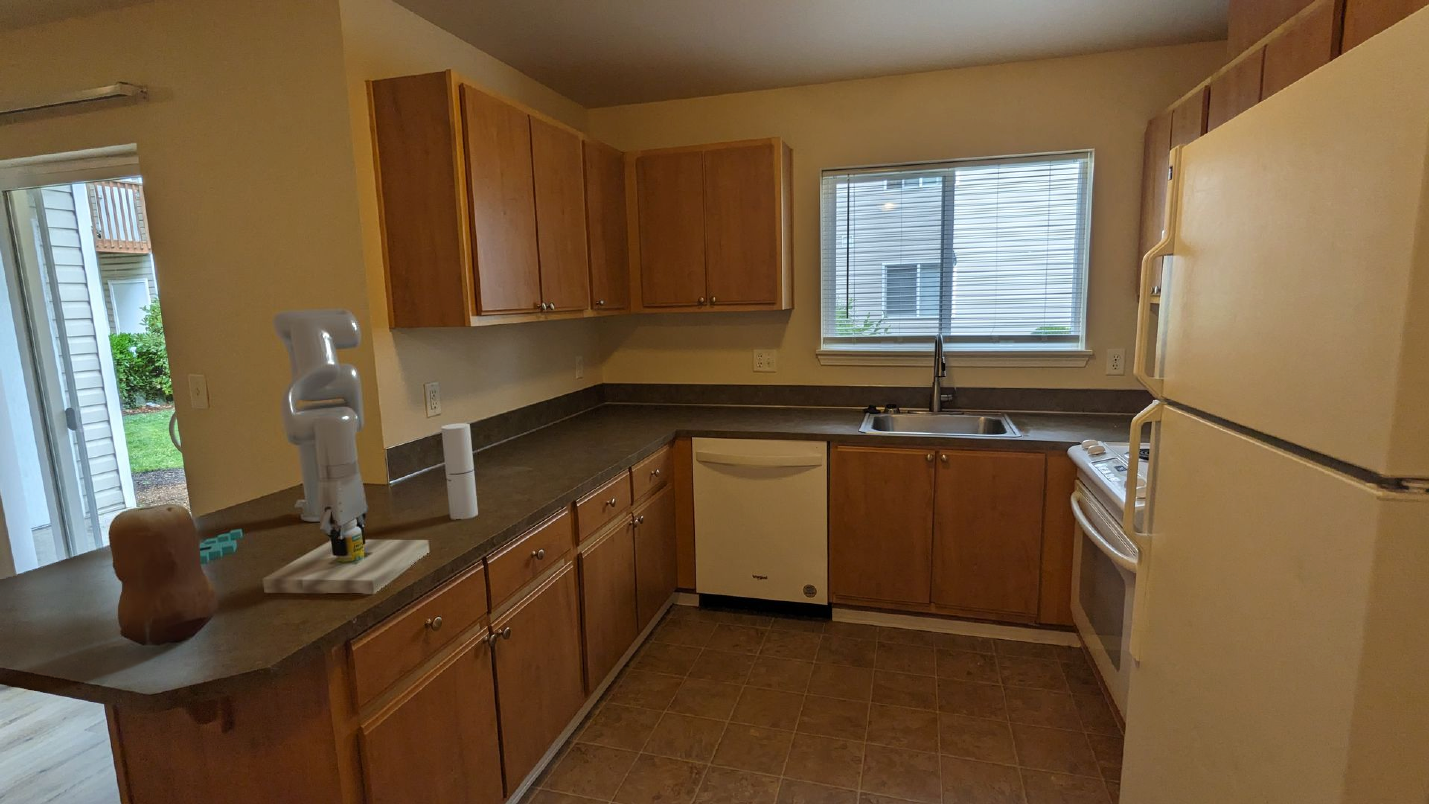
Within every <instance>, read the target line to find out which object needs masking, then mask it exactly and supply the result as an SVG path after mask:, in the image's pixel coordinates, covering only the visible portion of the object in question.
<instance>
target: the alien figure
mask: <svg viewBox="0 0 1429 804" xmlns="http://www.w3.org/2000/svg"><path fill="white" fill-rule="evenodd" d="M243 536H244V535H243V530H242V528H239V529H233V530H230V532H229V533H222V534H218V535H217V537H213V538H207V539H205V541H203V542H199V543H200V555H201V556H200V562H201V565H203V564H208V563H209V561H210V560H214V559H220V558H222V557H223V555H228V554H233V553H235V551H236V549H237V548H238V545H237V539H238V540H239V539H242V537H243Z"/></svg>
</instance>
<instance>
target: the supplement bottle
mask: <svg viewBox="0 0 1429 804" xmlns="http://www.w3.org/2000/svg"><path fill="white" fill-rule="evenodd" d="M335 524H337V522H336V521H335ZM356 525H357V520H356V518H355V519H353V520H351V521H349V522H348V523H346V524H345V528H344V537H346V540H347V548H348V555H346V556H337V563H338V564H357V563H359V562H360V561H362V560H363V559H364V549H363V540H362V533H361V529H360V528H359V527H357V526H356ZM335 529H336V530H337V531H338V530H339V527H335Z"/></svg>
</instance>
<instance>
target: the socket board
mask: <svg viewBox="0 0 1429 804" xmlns="http://www.w3.org/2000/svg"><path fill="white" fill-rule="evenodd" d="M365 542H366V543H365V544H364V545H363V549H364V559H363V560H362V561H360V562H359V563H357V564H338V563H337V556H334V555H333V553H332V545H331V539H329V541H327V542H325V543H323V544H322V545H320V546H318V547H316V548H314V549H313V550H311V551H309V552H308V553H306V554H304V555H302V556H300V557H299V558H297V559H295V560H293V561H292V562H290V563H288V564H286V565H285V566H283V567H280V568H279V569H277V570H276V571H273V572H272V573H271V574H269V575H267V576H265V577H264V578H262V584H263V590H264V593H267V594H269V593H270V594H273V593H275V594H283V593H284V594H326V593H363V594H362V595H375V594H377V593H378V592H380V590H382V589H383V588H384V587H386V586H387V585H388V584H390V583H391V582H392V581H393V580H395V579H396V578H398V577H399V576H400V575H402V574H403V573H404V572H406V570H408V569H409V568H410V567H412V566H413V565H415V564H416V563H418V562H419V561H420V560H421V559H422V558H424V557H425V556H427V555H428V554H429V553H430V543H429V540H428V539H365ZM427 553H428V554H427ZM423 556H424V557H423ZM419 559H420V560H419ZM418 560H419V561H418ZM415 562H416V563H415ZM414 563H415V564H414ZM411 565H412V566H411ZM385 585H386V586H385ZM381 588H382V589H381ZM377 591H378V592H377Z"/></svg>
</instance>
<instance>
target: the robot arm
mask: <svg viewBox="0 0 1429 804" xmlns="http://www.w3.org/2000/svg"><path fill="white" fill-rule="evenodd" d="M272 325H273V328H274V331H275V333H276V335H277V337H278V338H279V340H280V342H281V343H282V344H283V346H284V347H285V348H286V351H287V353H288V357H289V367H290V374H291V380H290V382H289V383H288V384H287V386H286V387H285V389H284V391H283V394H282V395H281V402H280V410H281V418H282V422H283V423H282V424H283V428H284V433H285V437H286V439H287V441H288V442H289V443H290V444H292V445H294V446H297V450H298V456H299V457H298V458H299V463H300V470H301V471H300V472H301V479H302V483H303V492H304V493H303V494H304V499H297V500H296V503H295V504H294V508H295V509H296V510H297V509H302V513H301V514H300V517H301V518H300V519H301V520H302V521H304V522H314V523H315V522H316V523H317V522H319V524H320V527H319V531H320V532H322V533H323V534H325V535H326V536H327V537H328V540H331V545H332V553H333V555H334V556H346V555H348V548H347V540H346V537H344V528H345V524H346V523H348V522H349V521H351V520H353V519H355V518H356V520H357V525H356V526H357V527H359V528H360V529H361V533H362V540H363V545H364V544H365V543H366V542H365V540H366V534H365V526H366V520H365V519H366V517H367V513H368V511H369V505H368V503H367V499H366V493H365V488H364V483H363V478H362V476H361V473H360V466H359V465H360V464H359V458H358V457H359V456H358V451H357V450H358V449H357V448H358V447H357V439H356V435H357V433H358V432H360V431H362V430H363V428H364V426H365V425H364V424H365V414H364V402H363V401H364V400H363V392H362V391H363V390H362V381H361V376H360V373H359V370H358V369H357V367H356V366H355V365H353V364H350V363H340V362H339V358H338V354H337V353H338V352H337V350H353V349H357V348H358V347H359V346H360V345H361V341H362V331H361V328H360V323H359V322H358V319H357V318H356V317H355V315H354V314H353V313H352V312H351V311H349V310H348V309H344V308H331V309H329V308H328V309H324V308H323V309H298V310H297V309H293V310H284V311H281V312H278V313H276V314H275V315H274V316H273V318H272ZM333 400H334V401H333ZM300 401H302V402H312V403H305V404H301V405H298V406H297V407H296V405H297V404H298V402H300ZM320 401H321V402H320ZM336 522H337V524H336ZM336 527H339V530H338V529H336ZM337 530H338V531H337Z"/></svg>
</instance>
